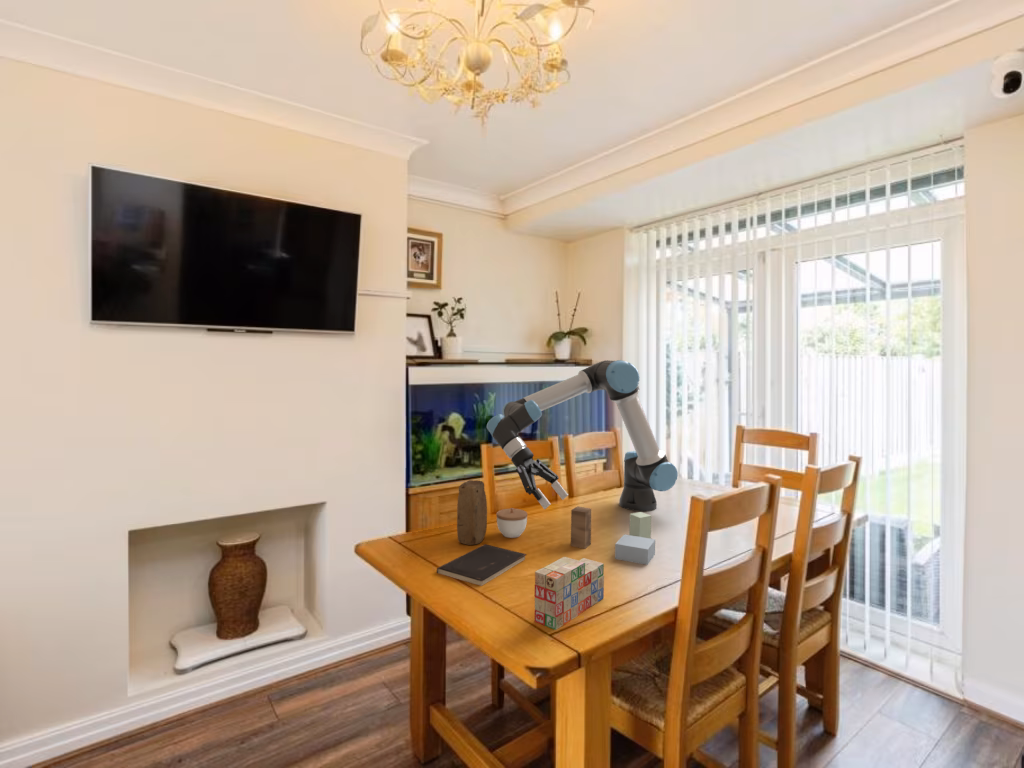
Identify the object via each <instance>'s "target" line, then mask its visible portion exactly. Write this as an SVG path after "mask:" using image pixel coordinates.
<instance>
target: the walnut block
mask: <svg viewBox="0 0 1024 768" xmlns="http://www.w3.org/2000/svg"><path fill="white" fill-rule="evenodd" d="M570 514H571V515H570V519H571V520H570V546H571V547H574V548H580V549H585V550H586V549H587V548H588V547H589V546H591V543H592V508H589V507H585V506H575V507H574V508H572V509H571V511H570Z"/></svg>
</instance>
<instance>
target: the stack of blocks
mask: <svg viewBox="0 0 1024 768" xmlns="http://www.w3.org/2000/svg"><path fill="white" fill-rule="evenodd" d="M604 567H605V565H604V562H603V563H602V562H600V561H596V560H592V559H589V558H584V557H582V558H581V559H579V560H578V559H574V558H571V557H568V556H562V557H561V558H559V559H557V560H556V561H553V562H551V563H550V564H548V565H545V566H543V567H542V568H539V569H538V570H535V572H534V582H535V583H534V622H535V623H538V624H539V625H540V624H541V625H543V626H545V627H547V628H549V629H552V630H554V631H557V630H558V629H559V628H561V627H563V626H565V625H566V624H568V623H569V622H571V621H572V620H573V619H575V618H577V617H578V616H579V615H581V614H582V613H584V612H585V611H586V610H588V609H590V608H591V607H592V606H594V605H596V604H597V603H598V602H600V601H601V600H603V599H604V597H605V595H604V593H605V592H604V591H605V590H604V588H605V586H604V585H605V575H604Z"/></svg>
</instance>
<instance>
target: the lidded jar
mask: <svg viewBox="0 0 1024 768" xmlns="http://www.w3.org/2000/svg"><path fill="white" fill-rule="evenodd" d="M495 514H496V524H497V528H498V531H499V532H500V533H501V534H502V536H503V537H504V538H509V539H510V538H511V539H513V538H514V539H515V538H519V537H520V536H521V535H522V534H523V533H524V531H525V530H526V527H527V522H528V512H527V511H525V510H523V509H520V508H514V507H510V508H503V509H500V510H498V511H497V512H496V513H495Z"/></svg>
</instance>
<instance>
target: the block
mask: <svg viewBox="0 0 1024 768" xmlns="http://www.w3.org/2000/svg"><path fill="white" fill-rule="evenodd" d="M456 514H457V515H456V516H457V517H456V531H457V533H456V535H457V541H458V543H460V544H463V545H466V546H467V545H468V546H473V545H479V544H480V543H482V542H483V540H484V538H485V537H486V536H485V535H486V532H487V527H488V525H487V524H488V522H487V521H488V502H487V495H486V491H485V484H484V481H481V480H473V479H471V480H470V479H469V480H467V481H464V482H462V483H461V484H460V485H459V486H458V496H457V510H456Z"/></svg>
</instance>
